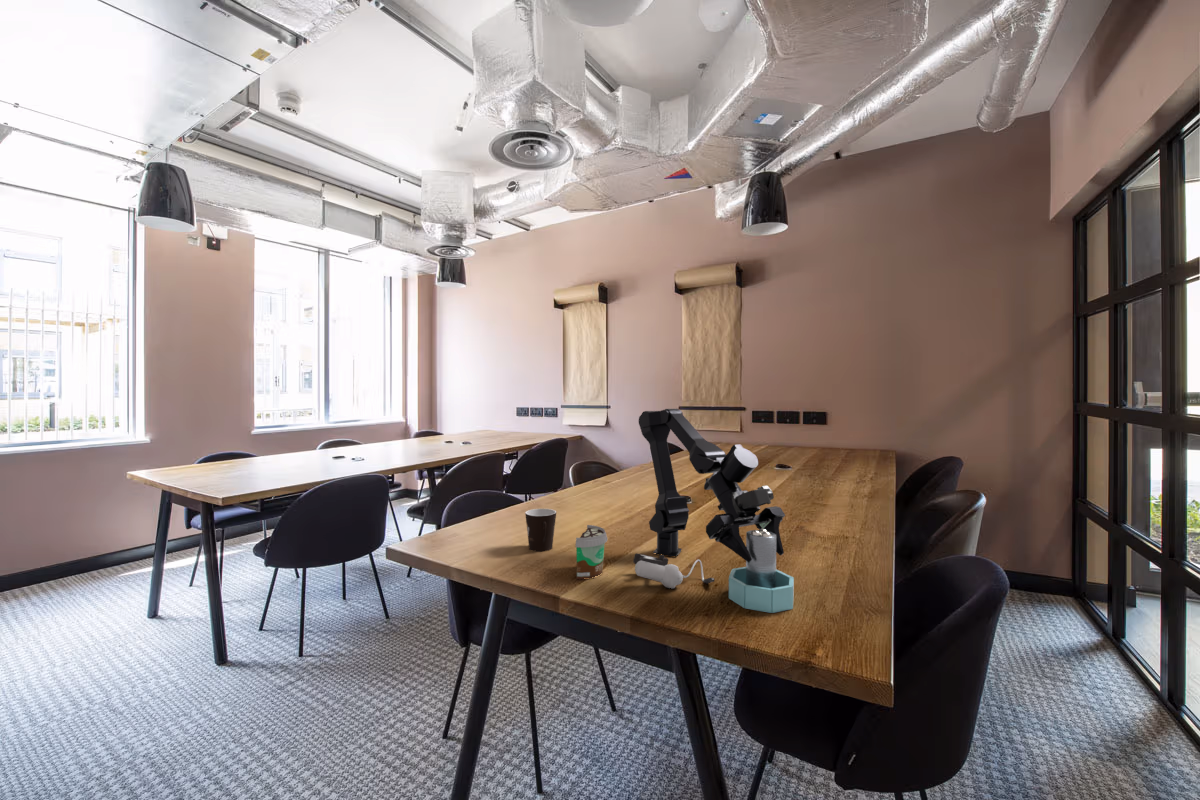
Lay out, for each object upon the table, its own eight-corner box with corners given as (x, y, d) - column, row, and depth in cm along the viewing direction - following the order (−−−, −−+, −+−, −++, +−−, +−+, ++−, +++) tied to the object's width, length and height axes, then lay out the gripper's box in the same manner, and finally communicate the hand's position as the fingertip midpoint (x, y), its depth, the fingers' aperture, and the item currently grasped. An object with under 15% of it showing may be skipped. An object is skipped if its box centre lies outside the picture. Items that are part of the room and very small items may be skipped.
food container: (601, 584, 110) (602, 540, 110) (575, 581, 111) (575, 538, 111) (611, 565, 122) (611, 525, 122) (587, 563, 123) (587, 524, 123)
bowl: (734, 583, 111) (734, 563, 111) (794, 592, 106) (794, 571, 106) (725, 605, 99) (725, 583, 99) (792, 616, 94) (792, 593, 94)
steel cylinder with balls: (742, 587, 106) (743, 526, 105) (770, 588, 105) (771, 526, 105) (750, 599, 100) (750, 534, 99) (779, 599, 99) (780, 534, 99)
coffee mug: (530, 542, 140) (530, 508, 140) (559, 544, 139) (559, 509, 139) (517, 555, 129) (517, 518, 129) (549, 557, 128) (549, 519, 127)
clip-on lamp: (704, 586, 116) (631, 567, 118) (710, 560, 117) (637, 541, 118) (712, 602, 105) (631, 581, 106) (719, 573, 105) (638, 552, 107)
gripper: (715, 476, 101) (754, 544, 92) (778, 470, 110) (820, 531, 100) (690, 506, 108) (724, 572, 99) (752, 498, 117) (789, 558, 107)
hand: (766, 557), depth 101 cm, fingers open, 9 cm apart
